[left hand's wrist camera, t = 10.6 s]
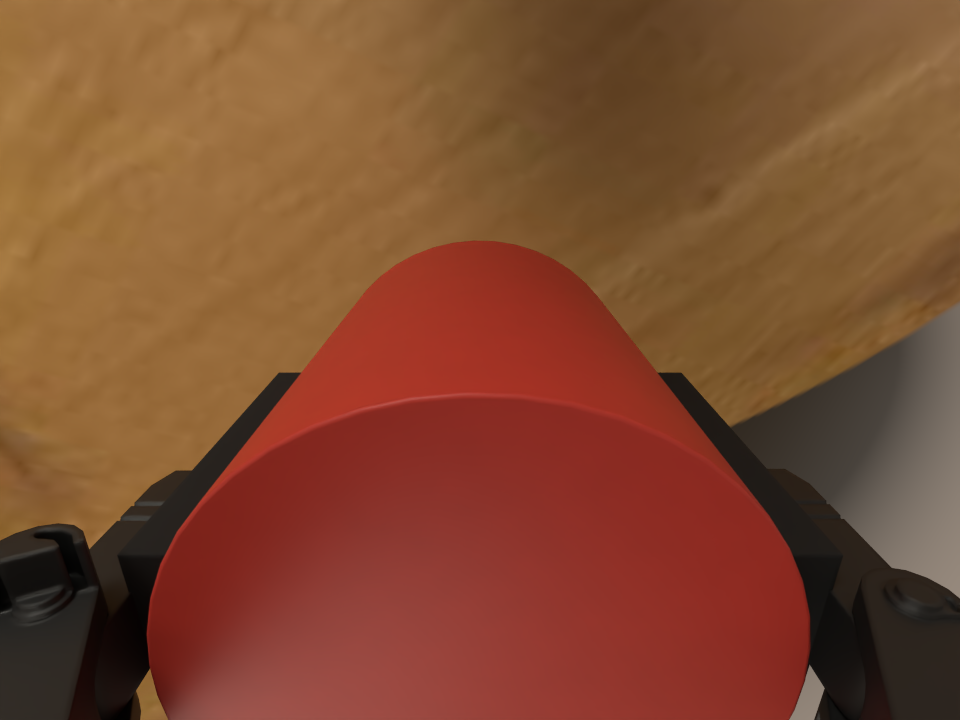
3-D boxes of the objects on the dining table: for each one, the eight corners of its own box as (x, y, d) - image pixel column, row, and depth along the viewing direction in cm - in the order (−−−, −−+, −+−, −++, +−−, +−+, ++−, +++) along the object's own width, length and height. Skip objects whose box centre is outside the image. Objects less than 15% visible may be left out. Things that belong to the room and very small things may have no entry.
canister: (675, 304, 15) (961, 535, 6) (553, 535, 18) (626, 919, 9) (383, 192, 14) (211, 273, 5) (304, 457, 17) (107, 808, 8)
